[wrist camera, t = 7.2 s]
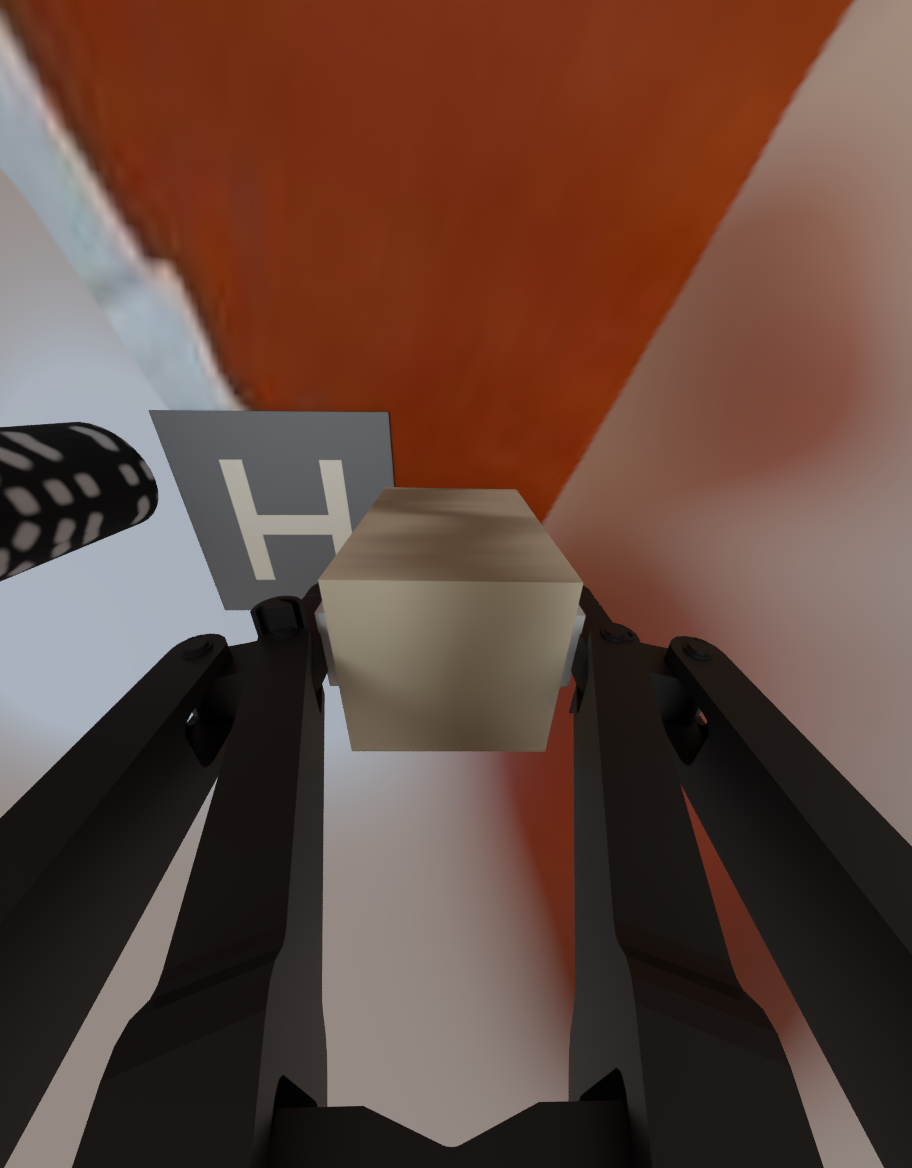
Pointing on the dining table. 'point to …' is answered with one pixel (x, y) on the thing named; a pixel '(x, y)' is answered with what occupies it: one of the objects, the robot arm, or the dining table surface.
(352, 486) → the board
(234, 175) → the dining table surface
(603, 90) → the dining table surface
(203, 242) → the dining table surface
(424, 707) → the birch block
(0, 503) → the white-spotted black cylinder
